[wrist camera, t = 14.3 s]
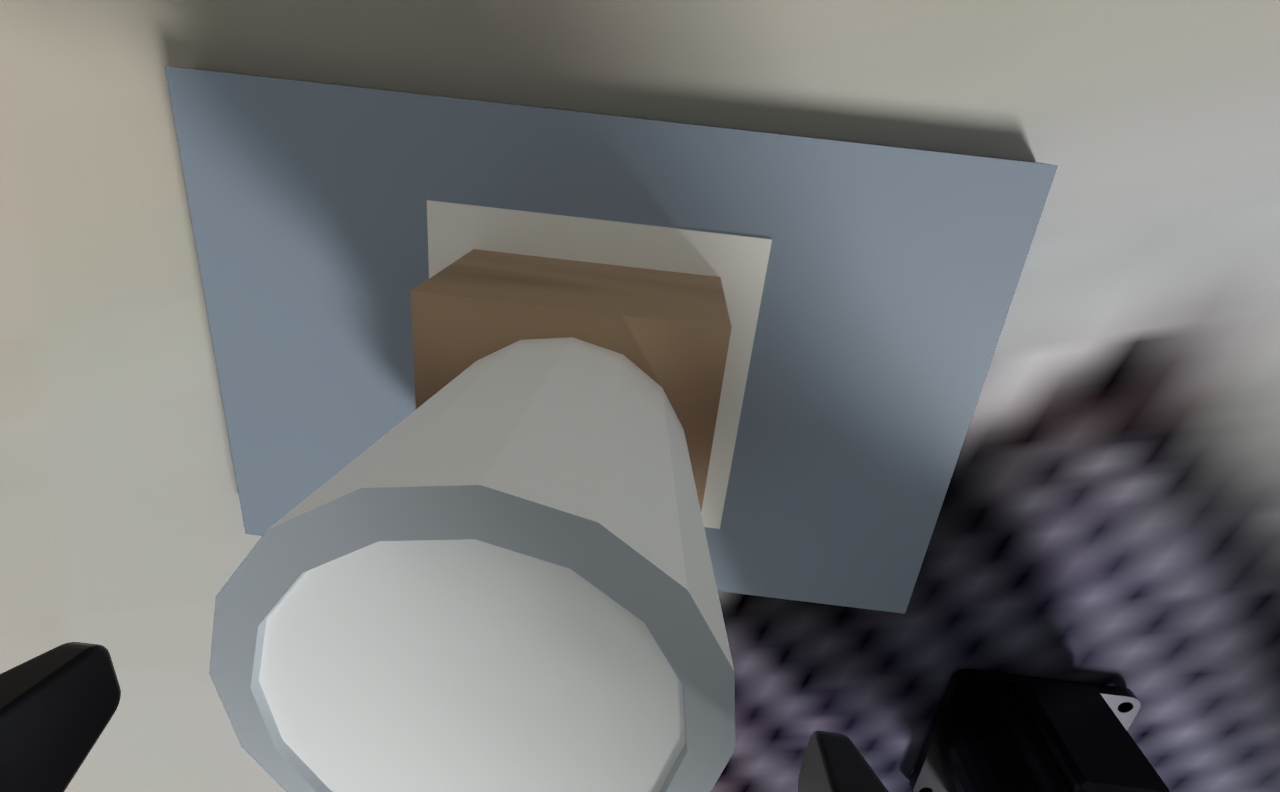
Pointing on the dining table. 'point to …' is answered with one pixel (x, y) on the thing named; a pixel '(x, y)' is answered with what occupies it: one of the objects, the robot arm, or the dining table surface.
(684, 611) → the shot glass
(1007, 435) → the dining table surface
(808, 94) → the dining table surface
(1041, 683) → the robot arm
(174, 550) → the dining table surface
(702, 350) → the walnut block
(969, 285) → the board
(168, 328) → the dining table surface
